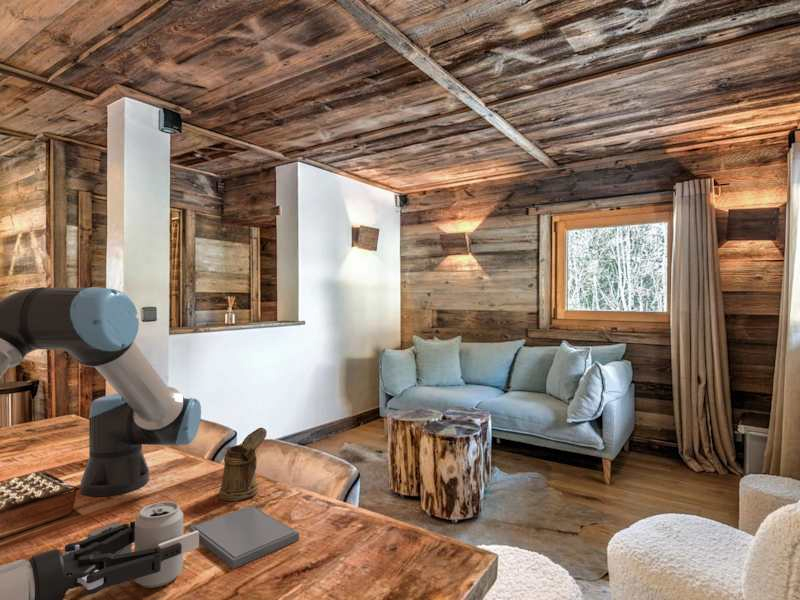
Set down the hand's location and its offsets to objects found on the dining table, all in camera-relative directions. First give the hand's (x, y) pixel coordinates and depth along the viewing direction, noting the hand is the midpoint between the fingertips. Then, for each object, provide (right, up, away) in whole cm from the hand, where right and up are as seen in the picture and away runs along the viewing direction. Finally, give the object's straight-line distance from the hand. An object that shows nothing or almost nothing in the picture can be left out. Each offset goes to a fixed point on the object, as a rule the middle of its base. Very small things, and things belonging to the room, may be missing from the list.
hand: (186, 529), depth 85 cm
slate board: (+7, -6, +10) cm, 14 cm away
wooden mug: (0, -7, +30) cm, 31 cm away
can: (-3, -7, -3) cm, 8 cm away
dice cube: (-15, -7, +3) cm, 17 cm away
